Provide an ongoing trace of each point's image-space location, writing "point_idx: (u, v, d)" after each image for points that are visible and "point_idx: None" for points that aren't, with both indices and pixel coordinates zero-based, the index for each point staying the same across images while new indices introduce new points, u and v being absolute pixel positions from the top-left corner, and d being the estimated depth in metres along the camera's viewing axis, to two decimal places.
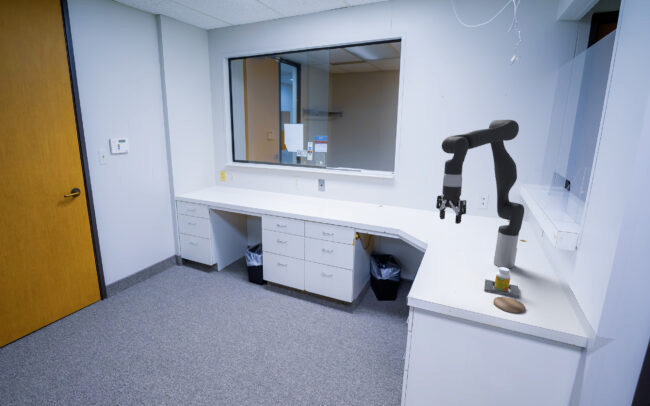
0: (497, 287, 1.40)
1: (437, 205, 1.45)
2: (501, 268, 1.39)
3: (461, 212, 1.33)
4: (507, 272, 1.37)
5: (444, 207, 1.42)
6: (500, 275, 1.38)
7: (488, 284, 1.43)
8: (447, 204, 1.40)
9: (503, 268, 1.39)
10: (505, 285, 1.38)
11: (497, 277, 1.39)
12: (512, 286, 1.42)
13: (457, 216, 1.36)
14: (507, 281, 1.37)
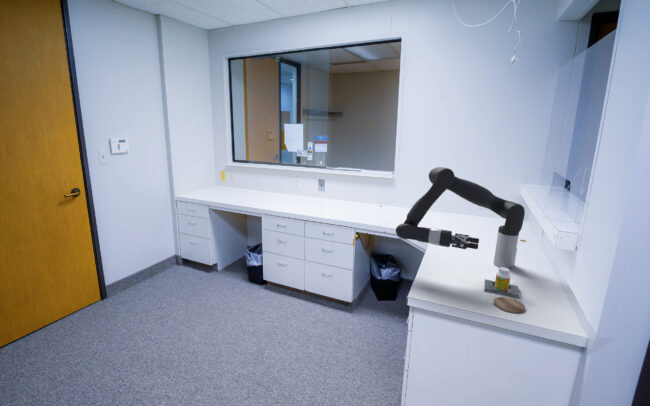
0: (497, 287, 1.40)
1: None
2: (501, 268, 1.39)
3: (463, 248, 1.38)
4: (507, 272, 1.37)
5: (465, 240, 1.47)
6: (500, 275, 1.38)
7: (488, 284, 1.43)
8: None
9: (503, 268, 1.39)
10: (505, 285, 1.38)
11: (497, 277, 1.39)
12: (512, 286, 1.42)
13: (469, 247, 1.39)
14: (507, 281, 1.37)
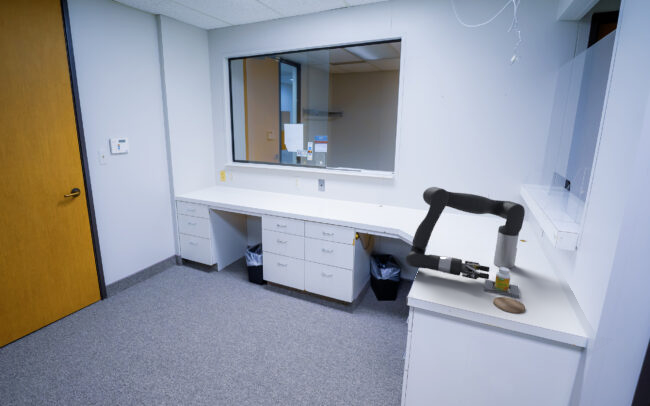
0: (497, 287, 1.40)
1: None
2: (501, 268, 1.39)
3: (474, 278, 1.39)
4: (507, 272, 1.37)
5: (475, 268, 1.47)
6: (500, 275, 1.38)
7: (488, 284, 1.43)
8: None
9: (503, 268, 1.39)
10: (505, 285, 1.38)
11: (497, 277, 1.39)
12: (512, 286, 1.42)
13: None
14: (507, 281, 1.37)
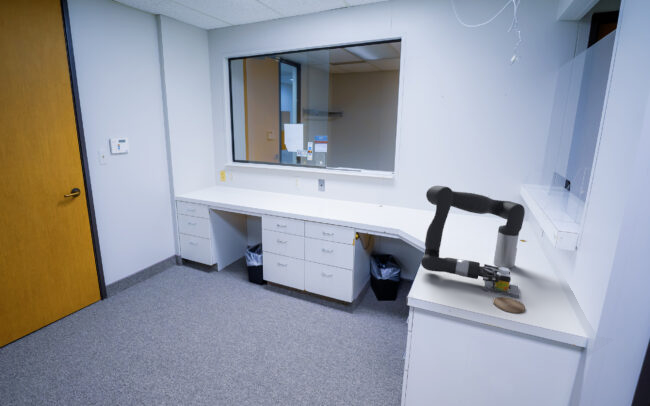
0: (497, 287, 1.40)
1: None
2: (501, 268, 1.39)
3: (495, 281, 1.36)
4: (507, 272, 1.37)
5: (494, 272, 1.43)
6: None
7: (488, 284, 1.43)
8: None
9: (503, 268, 1.39)
10: (505, 285, 1.38)
11: None
12: (512, 286, 1.42)
13: None
14: None
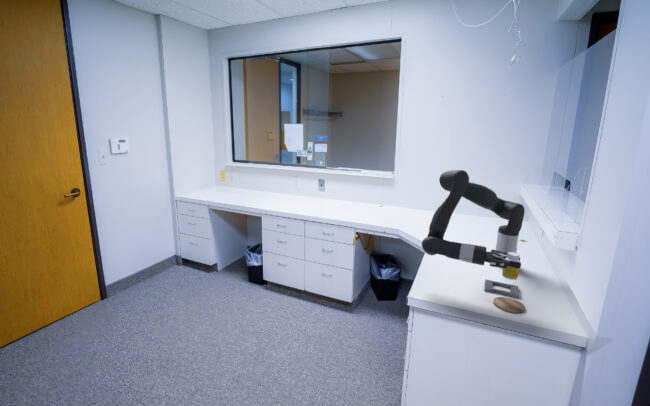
0: (505, 274, 1.26)
1: None
2: (510, 253, 1.25)
3: None
4: (517, 257, 1.23)
5: None
6: None
7: (488, 284, 1.43)
8: None
9: (512, 253, 1.25)
10: (514, 271, 1.24)
11: None
12: (512, 286, 1.42)
13: (510, 266, 1.23)
14: None
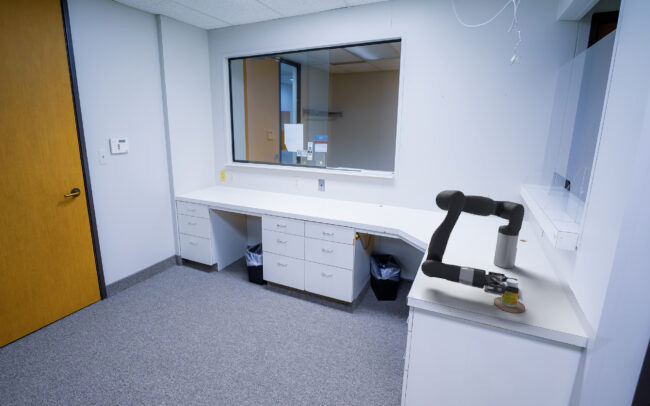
0: (504, 301, 1.26)
1: None
2: (509, 280, 1.26)
3: (501, 292, 1.22)
4: (516, 284, 1.24)
5: (501, 280, 1.30)
6: None
7: None
8: None
9: (511, 280, 1.26)
10: (513, 299, 1.24)
11: None
12: None
13: None
14: (516, 294, 1.24)
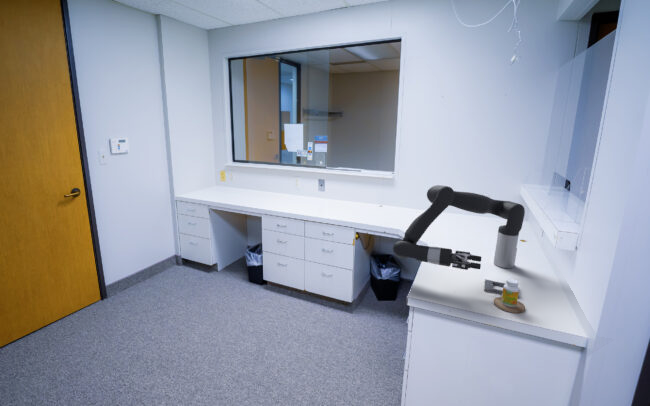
0: (504, 301, 1.26)
1: None
2: (509, 280, 1.26)
3: (465, 269, 1.30)
4: (516, 285, 1.24)
5: (466, 258, 1.38)
6: (508, 288, 1.25)
7: (488, 284, 1.43)
8: None
9: (511, 280, 1.26)
10: (513, 299, 1.24)
11: (504, 290, 1.26)
12: None
13: (471, 267, 1.31)
14: (516, 295, 1.24)
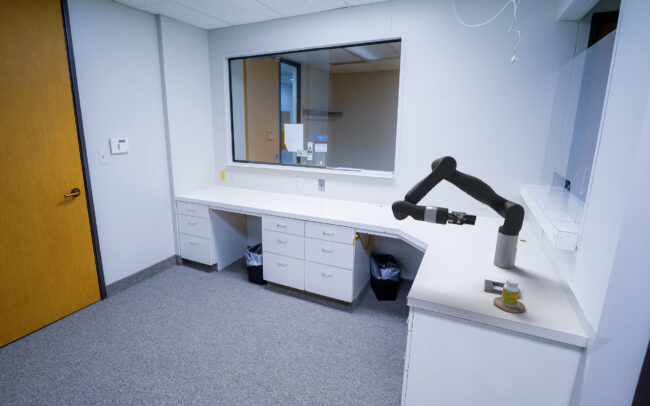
0: (504, 301, 1.26)
1: None
2: (509, 280, 1.26)
3: (460, 224, 1.35)
4: (516, 285, 1.24)
5: (462, 217, 1.43)
6: (508, 288, 1.25)
7: (488, 284, 1.43)
8: None
9: (511, 280, 1.26)
10: (513, 299, 1.24)
11: (504, 290, 1.26)
12: None
13: (466, 223, 1.36)
14: (516, 295, 1.24)
